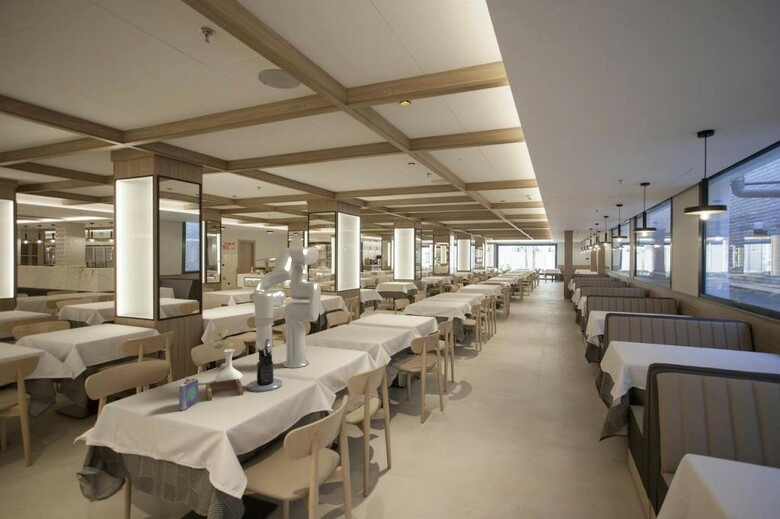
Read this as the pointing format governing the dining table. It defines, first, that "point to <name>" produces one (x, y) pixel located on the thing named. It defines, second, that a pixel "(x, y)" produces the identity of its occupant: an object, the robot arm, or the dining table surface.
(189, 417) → the dining table surface
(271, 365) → the supplement bottle
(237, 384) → the brown wooden arch piece
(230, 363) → the flower in vase
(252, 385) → the plate
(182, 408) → the flask
